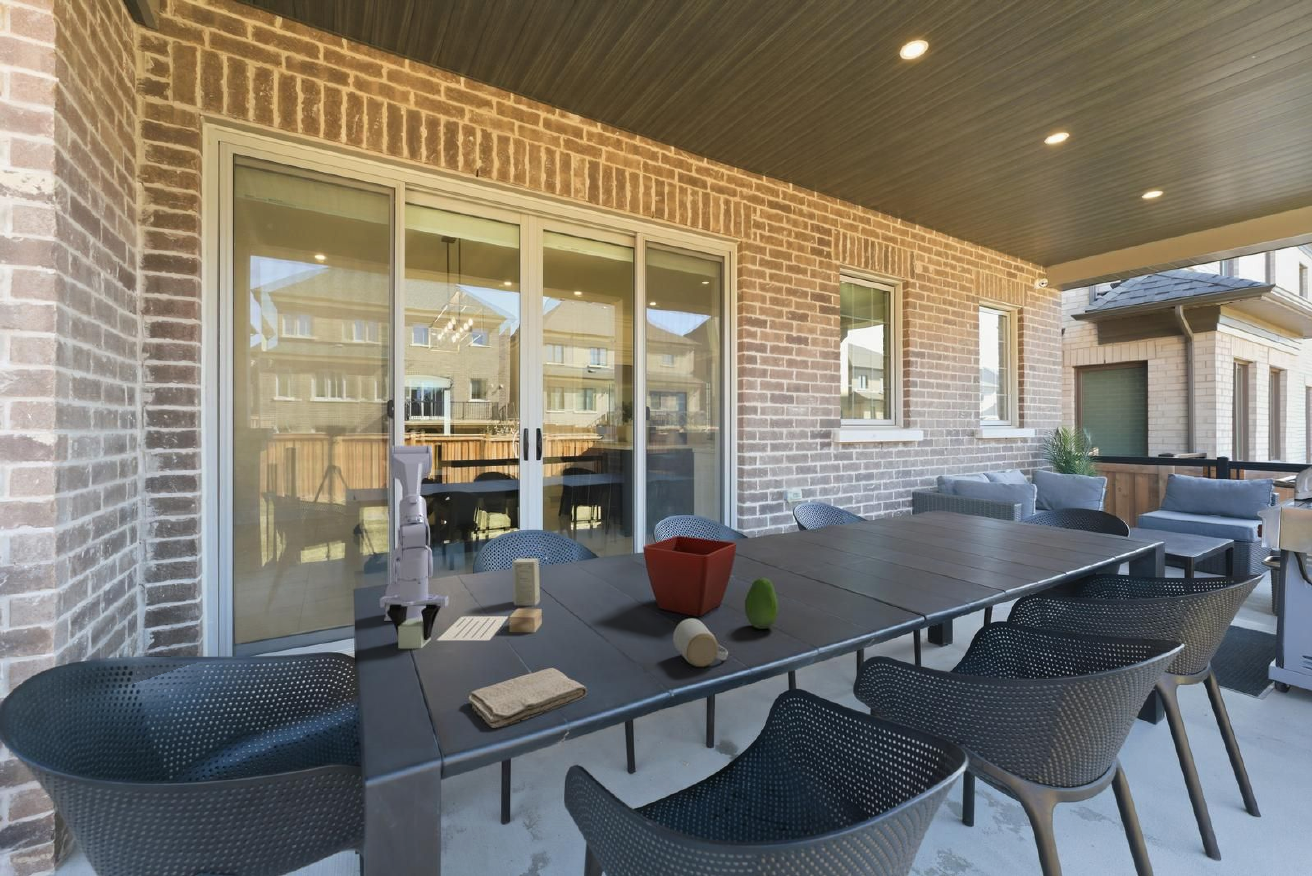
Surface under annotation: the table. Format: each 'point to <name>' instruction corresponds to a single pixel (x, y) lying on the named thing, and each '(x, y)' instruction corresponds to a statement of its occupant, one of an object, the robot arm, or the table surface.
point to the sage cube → (411, 634)
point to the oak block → (525, 620)
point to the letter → (473, 628)
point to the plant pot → (689, 573)
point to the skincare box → (526, 581)
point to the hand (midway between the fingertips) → (414, 638)
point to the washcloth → (525, 697)
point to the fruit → (761, 604)
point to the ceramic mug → (697, 643)
